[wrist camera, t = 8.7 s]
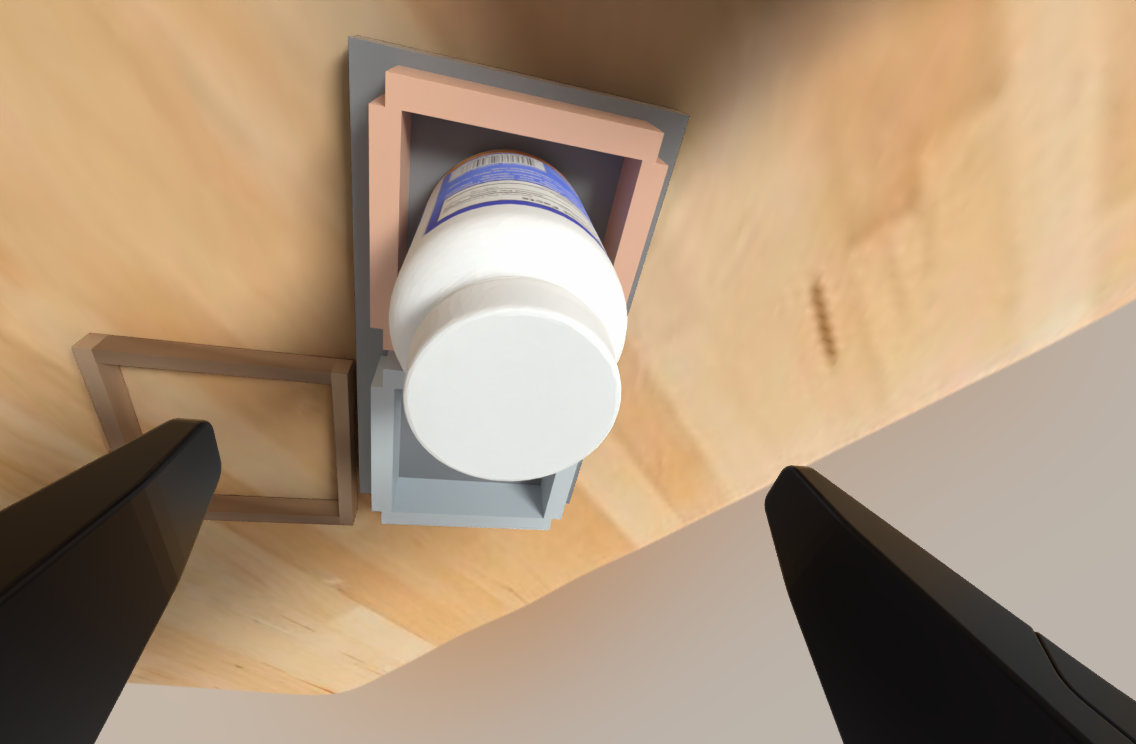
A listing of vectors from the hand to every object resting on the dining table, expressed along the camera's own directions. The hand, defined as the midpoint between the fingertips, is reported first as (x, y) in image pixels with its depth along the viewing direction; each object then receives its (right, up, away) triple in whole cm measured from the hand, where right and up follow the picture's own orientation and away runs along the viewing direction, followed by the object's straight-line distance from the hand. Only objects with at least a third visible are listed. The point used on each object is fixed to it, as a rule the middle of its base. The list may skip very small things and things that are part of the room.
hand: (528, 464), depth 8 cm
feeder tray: (-14, -1, +14) cm, 20 cm away
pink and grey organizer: (-2, +3, +12) cm, 13 cm away
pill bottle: (-1, +6, +9) cm, 11 cm away
